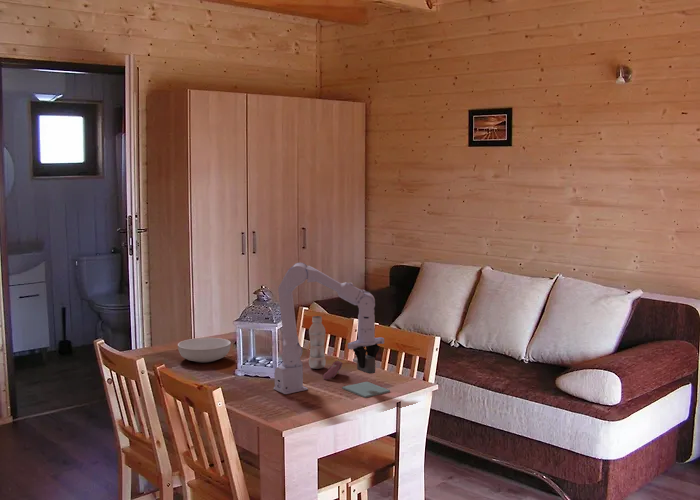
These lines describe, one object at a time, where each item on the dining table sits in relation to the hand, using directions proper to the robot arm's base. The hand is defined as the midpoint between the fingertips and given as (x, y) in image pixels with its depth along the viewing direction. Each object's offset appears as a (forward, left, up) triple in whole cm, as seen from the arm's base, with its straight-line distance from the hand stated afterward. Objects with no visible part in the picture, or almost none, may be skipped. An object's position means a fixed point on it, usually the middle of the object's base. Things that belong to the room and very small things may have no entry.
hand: (366, 366), depth 267 cm
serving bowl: (-27, +70, -9) cm, 76 cm away
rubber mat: (0, 0, -8) cm, 8 cm away
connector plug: (0, +1, -1) cm, 2 cm away
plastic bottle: (+2, +33, -9) cm, 34 cm away
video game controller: (+1, +20, -9) cm, 22 cm away
